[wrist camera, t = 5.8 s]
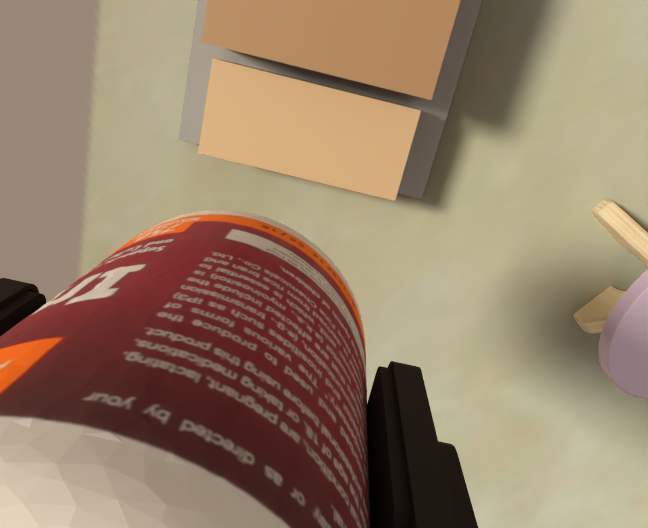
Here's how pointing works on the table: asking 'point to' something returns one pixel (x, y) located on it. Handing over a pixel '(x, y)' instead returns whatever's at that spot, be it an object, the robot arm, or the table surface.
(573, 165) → the table surface
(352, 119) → the stand
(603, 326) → the toy table
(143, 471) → the pill bottle
